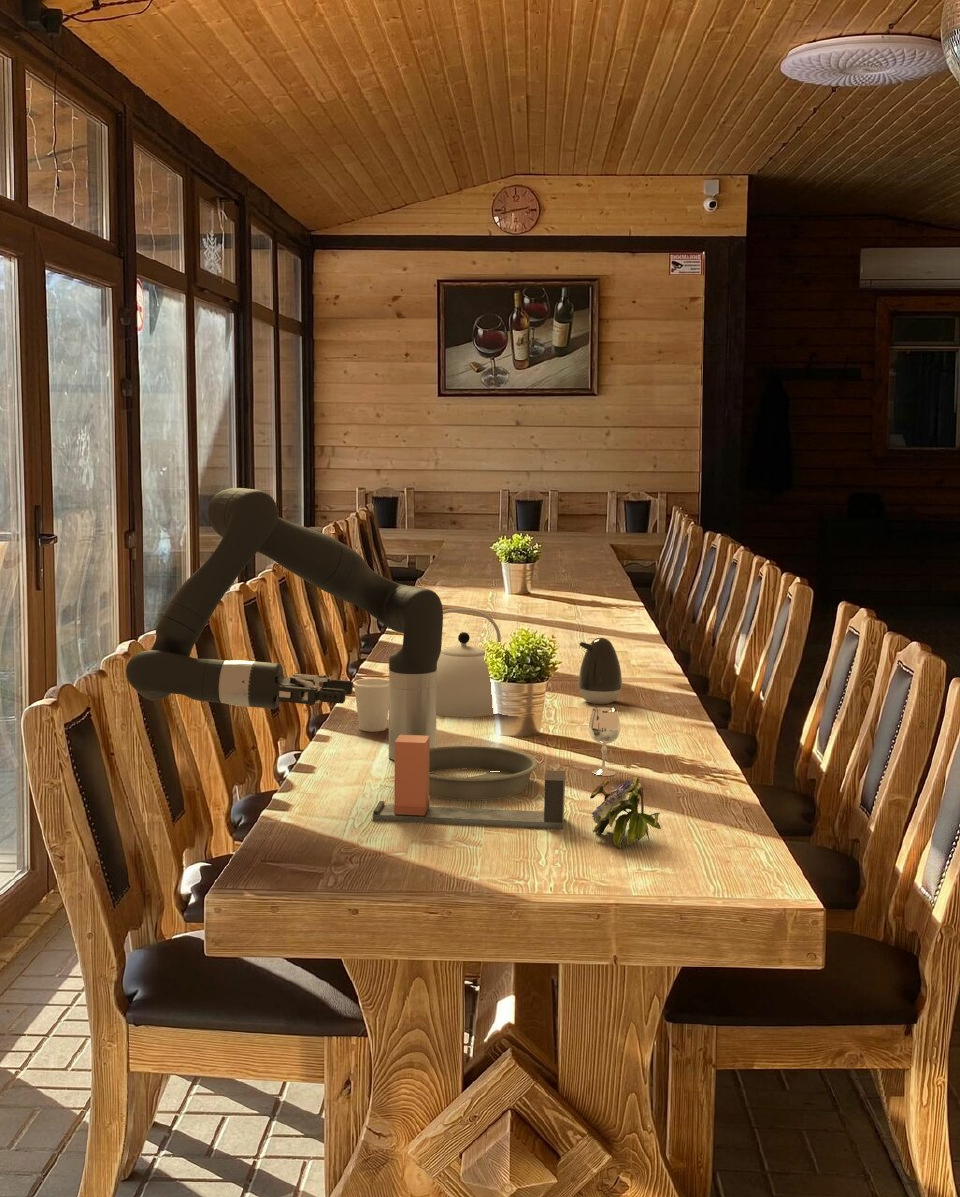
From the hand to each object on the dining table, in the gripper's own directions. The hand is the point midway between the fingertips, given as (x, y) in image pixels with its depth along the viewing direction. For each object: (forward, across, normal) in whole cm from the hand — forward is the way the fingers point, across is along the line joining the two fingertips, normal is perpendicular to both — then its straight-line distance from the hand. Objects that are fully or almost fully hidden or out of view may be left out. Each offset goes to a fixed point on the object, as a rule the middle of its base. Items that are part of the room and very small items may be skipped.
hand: (348, 692), depth 224 cm
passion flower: (+46, -8, +18) cm, 50 cm away
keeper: (+12, 0, +19) cm, 22 cm away
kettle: (+14, +88, +17) cm, 91 cm away
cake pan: (+20, +22, +19) cm, 35 cm away
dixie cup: (-2, +63, +19) cm, 66 cm away
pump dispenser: (+47, +95, +14) cm, 107 cm away
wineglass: (+45, +31, +17) cm, 57 cm away
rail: (+21, 0, +19) cm, 29 cm away
